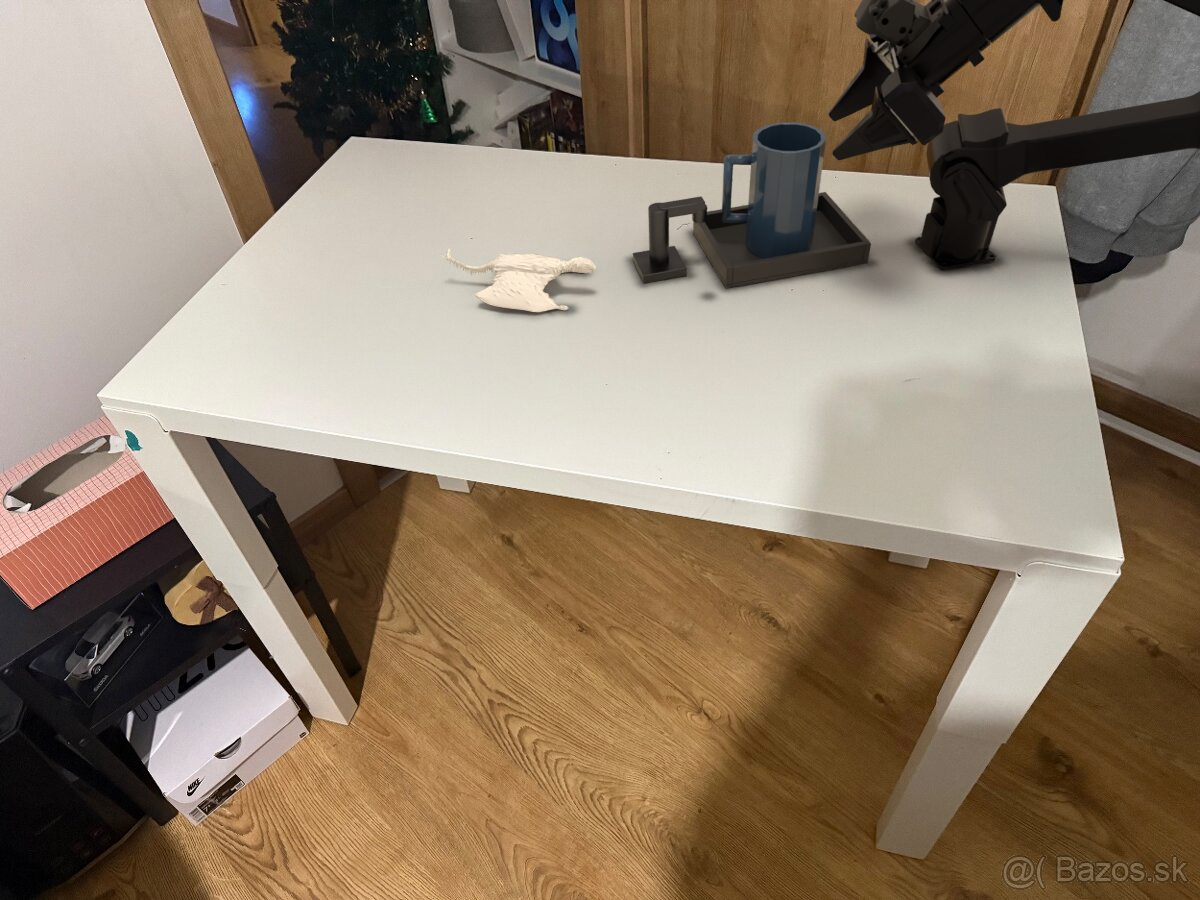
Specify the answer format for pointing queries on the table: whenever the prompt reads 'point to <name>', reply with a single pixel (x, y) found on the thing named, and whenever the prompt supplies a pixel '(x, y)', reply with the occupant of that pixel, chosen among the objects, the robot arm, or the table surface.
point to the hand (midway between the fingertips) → (832, 136)
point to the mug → (779, 188)
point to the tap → (666, 239)
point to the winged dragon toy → (524, 279)
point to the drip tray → (829, 250)
